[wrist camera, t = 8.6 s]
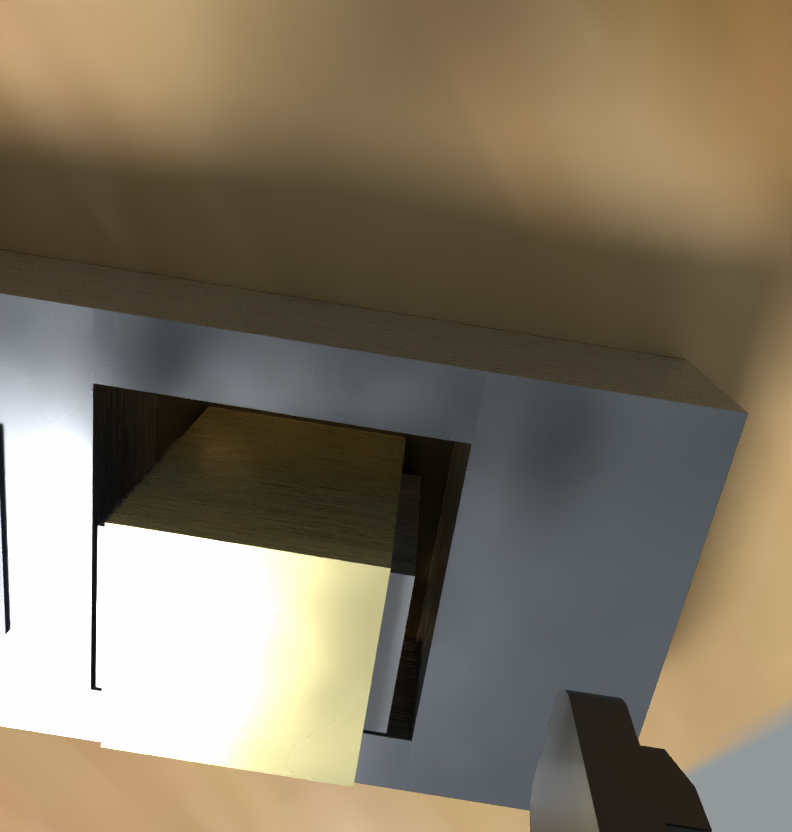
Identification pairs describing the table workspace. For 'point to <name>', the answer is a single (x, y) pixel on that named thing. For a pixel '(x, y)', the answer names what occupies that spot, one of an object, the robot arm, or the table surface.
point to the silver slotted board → (387, 410)
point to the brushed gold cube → (257, 596)
